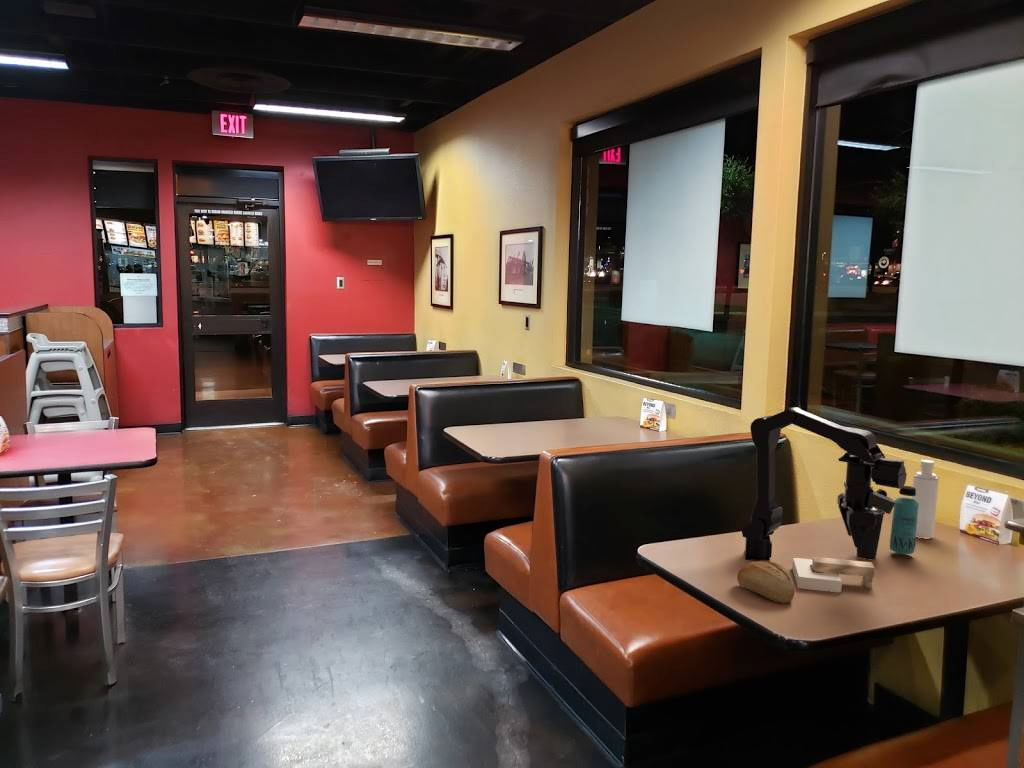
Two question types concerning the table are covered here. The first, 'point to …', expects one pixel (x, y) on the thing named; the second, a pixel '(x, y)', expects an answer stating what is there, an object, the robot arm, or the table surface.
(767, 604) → the table surface
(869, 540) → the drinking cup
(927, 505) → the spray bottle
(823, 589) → the white slotted block
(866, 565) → the tan elongated block
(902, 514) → the beverage bottle
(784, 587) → the bread roll
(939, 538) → the table surface
